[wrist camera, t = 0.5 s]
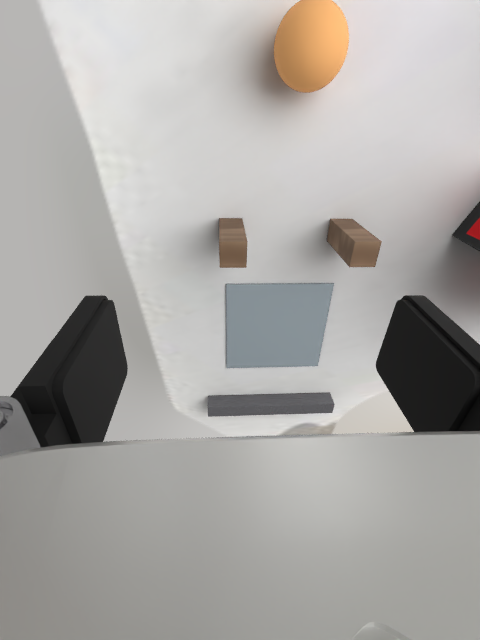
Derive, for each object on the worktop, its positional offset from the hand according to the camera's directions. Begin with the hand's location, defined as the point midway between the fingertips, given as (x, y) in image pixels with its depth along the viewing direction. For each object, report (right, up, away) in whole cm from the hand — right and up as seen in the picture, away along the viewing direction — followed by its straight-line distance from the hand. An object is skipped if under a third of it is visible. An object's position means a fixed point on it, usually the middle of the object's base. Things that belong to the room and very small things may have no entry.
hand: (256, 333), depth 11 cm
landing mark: (+5, -1, +34) cm, 34 cm away
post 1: (-2, +11, +26) cm, 29 cm away
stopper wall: (+4, -13, +42) cm, 44 cm away
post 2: (+11, +11, +27) cm, 31 cm away
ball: (+5, +23, +15) cm, 28 cm away
